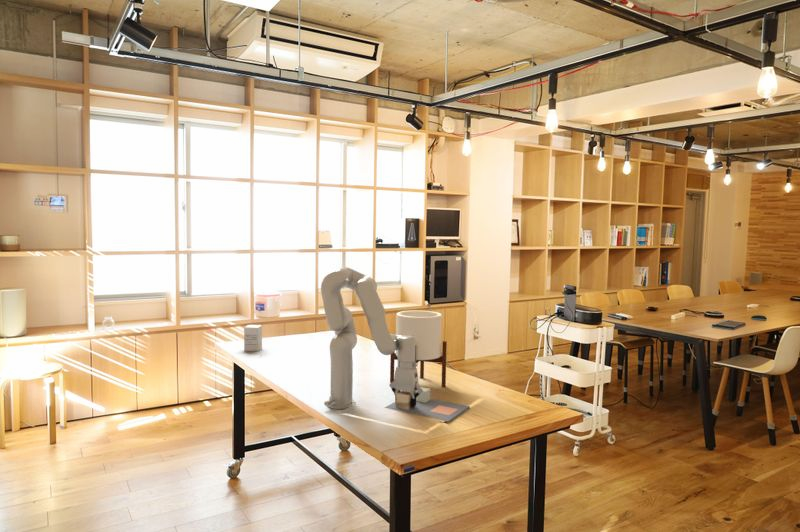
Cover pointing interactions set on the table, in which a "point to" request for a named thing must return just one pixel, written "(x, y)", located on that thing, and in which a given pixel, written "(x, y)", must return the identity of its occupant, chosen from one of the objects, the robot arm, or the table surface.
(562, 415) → the table surface
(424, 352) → the plant pot with stand
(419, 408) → the board
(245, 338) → the supplement box
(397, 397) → the maple block
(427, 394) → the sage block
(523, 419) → the table surface
